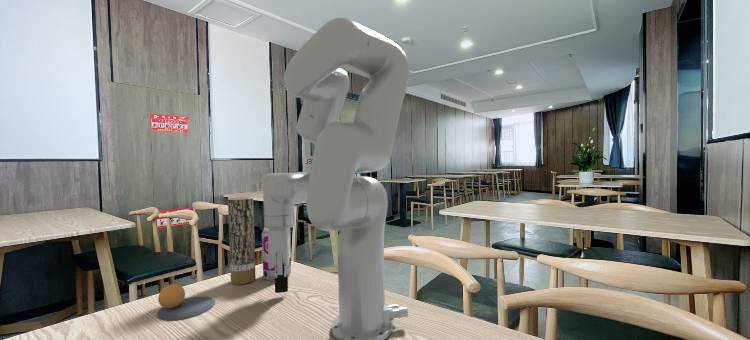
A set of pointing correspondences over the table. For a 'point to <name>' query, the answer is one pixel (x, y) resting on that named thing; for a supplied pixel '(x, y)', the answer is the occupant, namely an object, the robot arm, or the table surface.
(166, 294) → the ball
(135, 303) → the table surface
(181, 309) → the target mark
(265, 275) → the supplement can
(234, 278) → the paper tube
